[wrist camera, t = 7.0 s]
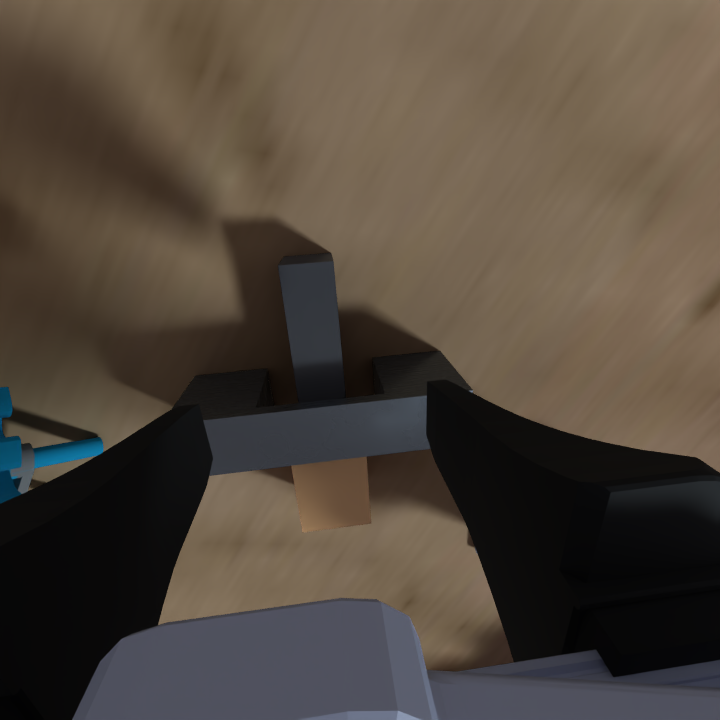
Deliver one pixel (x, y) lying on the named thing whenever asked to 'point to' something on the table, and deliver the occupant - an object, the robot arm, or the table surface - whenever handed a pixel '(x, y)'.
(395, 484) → the table surface
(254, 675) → the robot arm
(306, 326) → the plug
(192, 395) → the housing
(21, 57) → the table surface
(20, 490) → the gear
